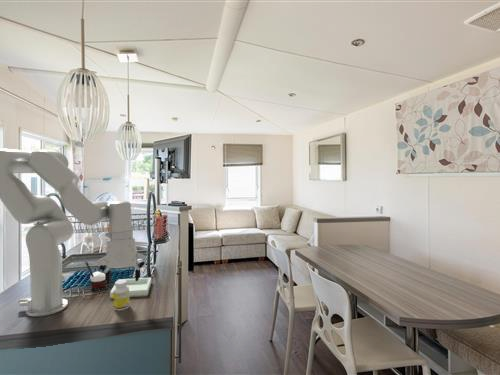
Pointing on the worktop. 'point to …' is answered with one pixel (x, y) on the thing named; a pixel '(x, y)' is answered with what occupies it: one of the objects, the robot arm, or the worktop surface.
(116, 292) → the supplement bottle
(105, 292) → the worktop surface
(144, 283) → the tray
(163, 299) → the worktop surface
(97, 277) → the cocoa
